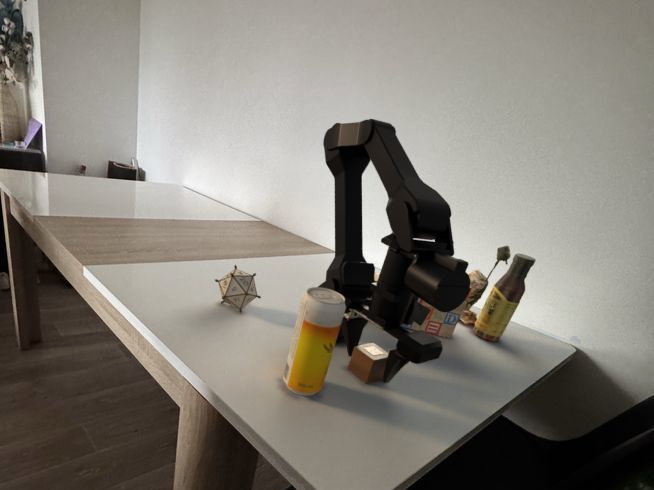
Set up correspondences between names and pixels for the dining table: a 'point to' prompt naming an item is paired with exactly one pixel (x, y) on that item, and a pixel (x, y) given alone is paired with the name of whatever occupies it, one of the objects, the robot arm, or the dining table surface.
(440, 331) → the stack of blocks
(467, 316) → the plant with pod
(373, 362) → the wooden cube
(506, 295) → the sauce bottle
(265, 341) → the dining table surface
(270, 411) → the dining table surface
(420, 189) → the robot arm
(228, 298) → the game die
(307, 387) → the beer can
